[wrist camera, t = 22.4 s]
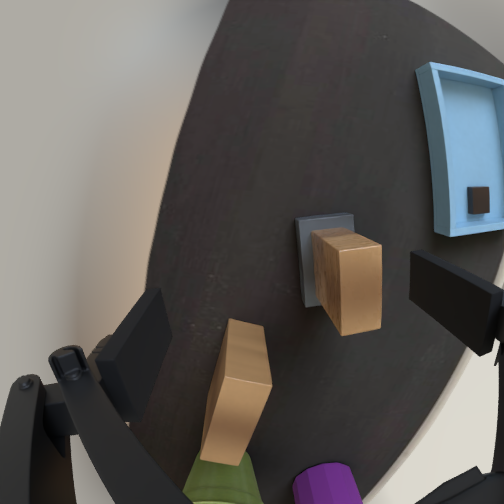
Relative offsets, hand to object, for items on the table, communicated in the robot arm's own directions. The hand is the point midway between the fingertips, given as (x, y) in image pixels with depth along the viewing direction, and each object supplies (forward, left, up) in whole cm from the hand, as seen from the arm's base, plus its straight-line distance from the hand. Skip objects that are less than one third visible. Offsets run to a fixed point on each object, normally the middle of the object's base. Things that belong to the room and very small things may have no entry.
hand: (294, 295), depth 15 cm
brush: (+2, +5, -14) cm, 15 cm away
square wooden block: (+12, -5, -14) cm, 19 cm away
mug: (+39, +3, -14) cm, 42 cm away
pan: (-8, +24, -14) cm, 29 cm away
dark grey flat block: (-2, +24, -13) cm, 27 cm away
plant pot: (+28, -9, -14) cm, 33 cm away
